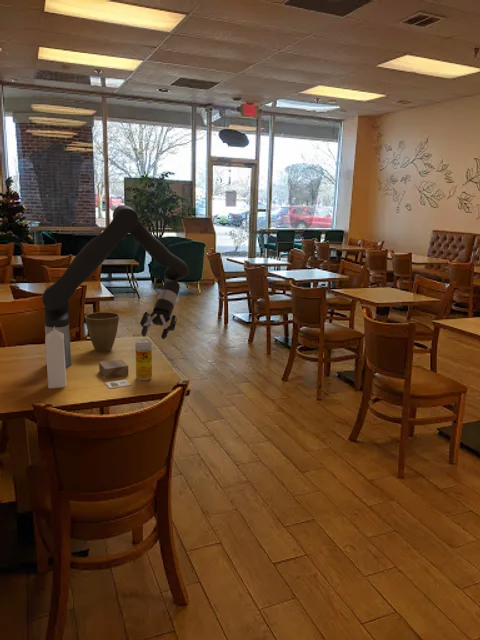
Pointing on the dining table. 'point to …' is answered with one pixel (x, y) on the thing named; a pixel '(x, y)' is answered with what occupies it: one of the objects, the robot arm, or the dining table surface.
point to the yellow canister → (143, 359)
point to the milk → (55, 359)
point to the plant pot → (102, 329)
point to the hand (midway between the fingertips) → (152, 336)
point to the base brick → (113, 368)
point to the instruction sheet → (117, 384)
